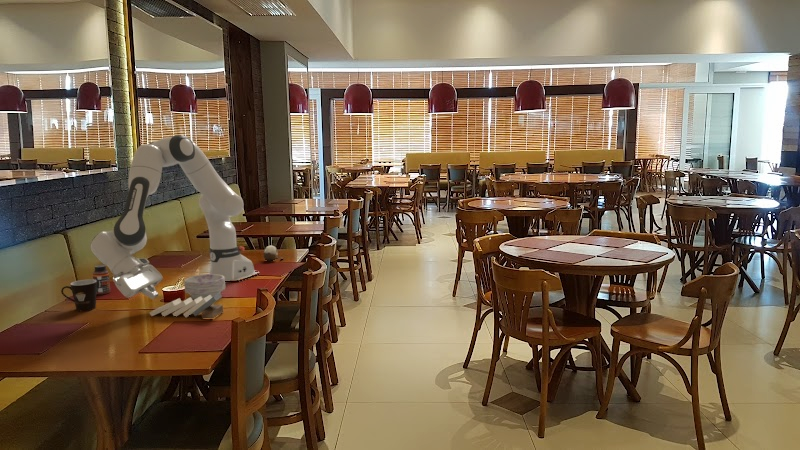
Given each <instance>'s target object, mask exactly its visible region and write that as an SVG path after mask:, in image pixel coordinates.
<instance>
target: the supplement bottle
mask: <svg viewBox="0 0 800 450" xmlns="http://www.w3.org/2000/svg"><path fill="white" fill-rule="evenodd" d="M92 280H96V281H97V285H96V295H100V296H101V295H107V294H109V293H111V283H110V282H111V281H110V280H111V279H110V273H109V271H108V270H107V266H106V265H104V264H100V265H99V264H98V265H95V266H94V271H93V272H92Z"/></svg>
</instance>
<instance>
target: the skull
mask: <svg viewBox="0 0 800 450" xmlns="http://www.w3.org/2000/svg"><path fill="white" fill-rule="evenodd" d="M278 253H279V252H278V249H277V247H276V246H274V245H268V246H266V247H265V249H264V250H263V258H265V260H267V261H273V260H275V259H280V258H281V259H283V258H284V257H282V256H278ZM283 260H284V259H283Z"/></svg>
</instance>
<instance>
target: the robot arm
mask: <svg viewBox="0 0 800 450" xmlns="http://www.w3.org/2000/svg"><path fill="white" fill-rule="evenodd" d="M177 164H178V165H179V166H180V168H181V169H182V172H183V173H184V174H185V176H186V177H187V179H188V180H189V181H190V183H191V185H192V186H193V188H194V189H195V190H196V191H197V192H199V193H200V196H199V198H198V206H199V208H200V210H201V211H202V212H203V215H204V218H205V221H206V225H207V228H208V233H209V246H210V247H209V259H210V270H209V274H217V275H223V276H224V277H225V281H230V280H240V279H243V278H247V277H250V276H252V275H255V274H257V273H260V271H258V272H255V271H257V270H255V267H254V264H253V261H252V260H251V259H249V258H247V257H246V256H245V255H243V254H241V252H244V251H245V247H244V246H242V245H240V246H238V245H237V233H236V227H235V226H234V224H233V222H232V220H231V218H233V217H237V216H239V215H240V214H241V213H242V212H243V211H244V200H243V198H242V197H241V195H239V194H237V193H236V192H235V191H234V190H233V189H232V188H231V187H230V186H229V184H227V183H226V182H225V180H224V179H223V178H222V177H221V176H220V175H219V173H218V172H217V171H216V169H215V167H214V166H213V164H212V163H211V161H210V160H209V158H208V157H207V156H206V154H205V153H204V152H203V150H202V148H201V147H200V146H198V145H197V143H195V142H194V141H192V140H191V139H190V138H189V137H188V136H186V135H184V134H183V135H182V134H176V135H173V136H167V137H163V138H161V139H157V140H156V141H151V142H149V143H146V144H145V143H144V144H141V145H139V146H138V147H137V149H136V150H135V153H134V155H133V157H132V160H131V164H130V168H129V172H128V183H127V184H128V185H127V186H128V194H127V197H126V201H125V206H124V209H123V211H122V214H121V216H120V217H119V218H118V219H117V220H116V221H115V224H114V227H113V230H102V231H100V232H98V233H97V234H96V235H95V236H94V237H93V239H92V240H91V242H90V250H91V252H92V253H93V255H94V256H95V257H96V258H97V259H98V260H99V261H100V262H101V263H102V265H105V266H106V267H108V269H109V270H110V272H111V274H113V275H112V281H113V283H114V285H115V287H116V288H117V290H119V292H120V293H121V294H122V295H123V296H124V297H125V298H128V299H129V298H131V297H134V296H135V295H136V296H137V294H139V293H141V294H142V295H144V296H146V297H148V298H149V299H150V300H154V299H157V297H159V295H160V294H159V292H158V291H157V289H156V287H155V286H157V285H158V284H160V283H161V281H162V280H163V279H164V278H163V275H162V273H161V272H160V271H158V269H156V267H155V266H153V265H152V264H150V261H149V260H148V259H147V258H141V257H140V258H139V257H135V256H133V255H134V254H136V253H137V252H139V251H141V250H142V249H144V247H146V245H147V242H148V237H147V236H148V235H147V231H146V226H145V221H144V212H145V209H146V208H145V207H146V203H147V199H148V196H150V195H152V194H154V193H156V192H157V189H158V187H159V185H160V182H161V178H162V172H163V168H166V167H172V166H175V165H177Z"/></svg>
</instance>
